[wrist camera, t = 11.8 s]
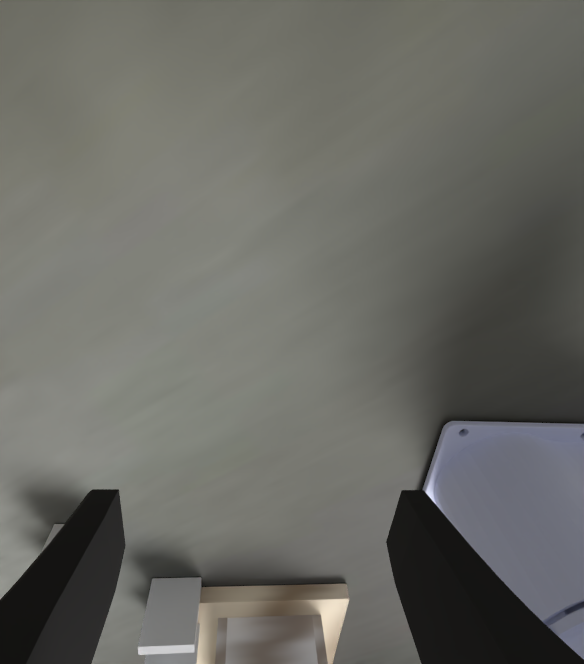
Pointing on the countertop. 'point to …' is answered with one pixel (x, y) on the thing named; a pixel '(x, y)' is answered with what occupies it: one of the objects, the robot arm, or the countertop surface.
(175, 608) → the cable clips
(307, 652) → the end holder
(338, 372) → the countertop surface
